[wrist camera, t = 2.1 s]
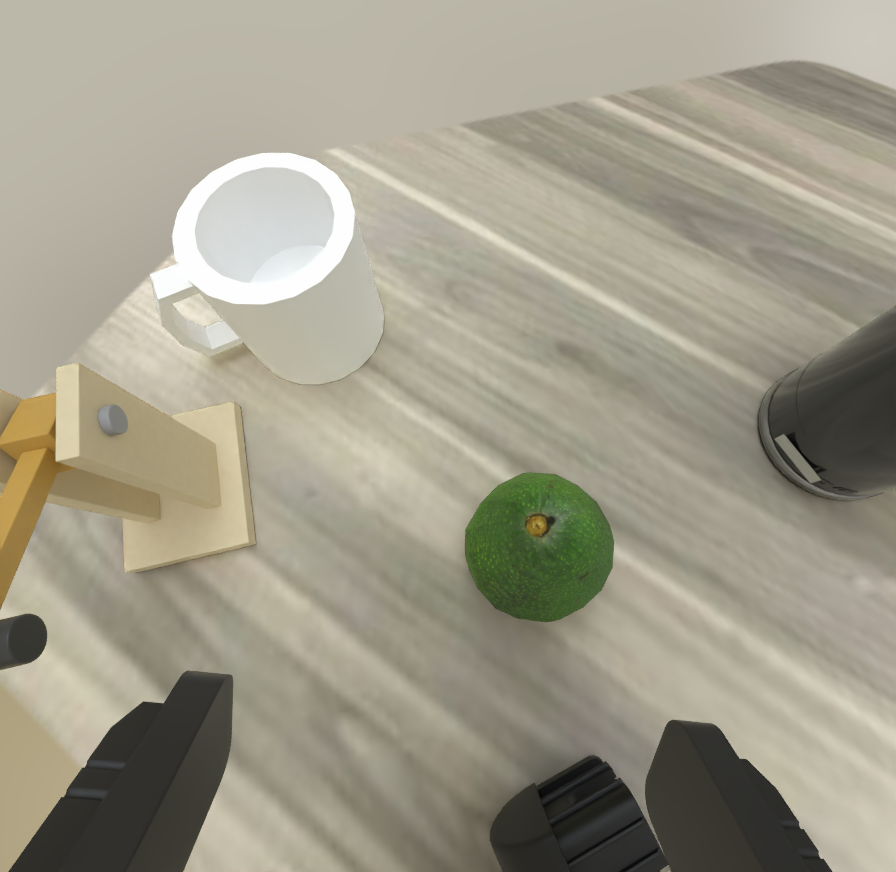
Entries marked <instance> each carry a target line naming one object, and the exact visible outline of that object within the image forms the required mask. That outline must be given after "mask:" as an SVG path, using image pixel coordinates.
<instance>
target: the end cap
mask: <svg viewBox="0 0 896 872" xmlns="http://www.w3.org/2000/svg"><path fill="white" fill-rule="evenodd" d="M614 778H616V775H615V773H614V771H613V770H612V768H611V767H610V766H609V765H608V763H607V762H606V761H605V762H603V761H602V760H601V759H600V758H599V757H597V756H594V755H593V756H589V757H587V758H585V759H583V760H582V761H580V762H578V763H576V764H575V765H573V766H571V767H569V768H568V769H566V770H564V771H562V772H561V773H559V774H557V775H555V776H554V777H552V778H550V779H548V780H547V781H545V782H543V783H542V784H540V785H538V786H537V787H536V786H535V784H534V783H533V784H532V785H530V786H528V787H527V788H525V789H524V790H523V791H521V792H520V793H518V794H517V795H516V796H515V797H514V798H513V799H511V800H510V801H509V802H508V803H507V804H506V805H505V806H504V807H503V809H502V810H501V811H500V813H499V814H498V815H497V817H496V819H495V820H494V822H493V825H492V828H491V831H490V841H491V845H492V848H493V850H494V852H495V855H496V857H497V859H498V862H499V864H500V866H501V869H502V871H503V872H660V871H659V870H661V869H663V868H664V867H666V866H667V865H669V864H668V862H667V860H666V858H665V856H664V854H663V852H662V850H661V848H660V846H659V844H658V842H657V840H656V839H655V837H654V835H653V833H652V831H651V829H650V827H649V825H648V823H647V821H646V819H645V817H644V815H643V813H642V811H641V810H640V808H639V806H638V804H637V802H636V800H635V798H634V797H633V795H632V793H631V792H630V790H629V789H628V787H627V786H626V785H625V784H624V783H623V781H622V780H621V779H620V778H619V779H614Z"/></svg>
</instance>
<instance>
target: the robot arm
mask: <svg viewBox="0 0 896 872" xmlns="http://www.w3.org/2000/svg"><path fill="white" fill-rule="evenodd" d="M759 430H760V436H761V439H762V442H763V445H764V447H765V449H766V451H767V453H768V455H769V457H770V458H771V460H772V461H773V463H774V464H775V465H776V467H777V468H778V469H779V470H780V471H781V472H782V473H783V474H784V475H785V476H786V477H787V478H788V479H790V480H791V481H792V482H793V483H795V484H796V485H798V486H799V487H801V488H803V489H805V490H806V491H809V492H811V493H813V494H815V495H818V496H821V497H825V498H828V499H834V500H858V499H863V498H867V497H872V496H875V495H879V494H881V493H884V492H886V491H890V490H895V489H896V306H894V307H893V308H891V309H890V310H888V311H887V312H885V313H884V314H882V315H881V316H879V317H877V318H876V319H874V320H873V321H871V322H870V323H868V324H867V325H865V326H864V327H862V328H861V329H859V330H858V331H856V332H855V333H853V334H852V335H850V336H848V337H847V338H845V339H844V340H842V341H841V342H839V343H838V344H836V345H835V346H833V347H832V348H830V349H829V350H827V351H826V352H824V353H822V354H821V355H819V356H817V357H816V358H814V359H813V360H811V361H810V362H808V363H807V364H805V365H804V366H802V367H801V368H799V369H796V370H794V371H792V372H790V373H789V374H787V375H786V376H784V377H783V378H781V379H780V380H778V381H777V382H776V383H775V384H774V385H773V386H772V387H771V388H770V389H769V390H768V392H767V393H766V395H765V397H764V399H763V401H762V404H761V407H760V411H759ZM232 704H233V677H232V675H228V674H218V673H208V672H198V671H186V672H185V673H183V675H182V676H181V677H180V678H179V680H178V681H177V683H176V685H175V686H174V688H173V689H172V691H171V693H170V694H169V696H168V697H167V699H166V701H165V702H164V703H153V702H142V703H141V704H140V705H139V706H137V707H136V708H135V709H134V710H132V711H131V712H130V713H129V714H127V715H126V716H125V717H124V718H122V719H121V720H120V721H119V722H117V723H116V724H115V725H114V726H112V727H111V728H110V730H109V731H108V733H107V734H106V735H105V737H104V738H103V740H102V741H101V742H100V744H99V745H98V747H97V748H96V749H95V751H94V752H93V754H92V755H91V756H90V758H89V759H88V761H87V765H86V766H85V768H82V769H81V771H80V772H79V773H78V775H77V776H76V778H75V779H74V780H73V782H72V783H71V785H70V786H69V787H68V789H67V792H66V795H65V796H64V797H61V799H60V800H59V801H58V803H57V804H56V806H55V807H54V808H53V810H52V811H51V813H50V814H49V815H48V817H47V818H46V820H45V821H44V823H43V824H42V825H41V827H40V828H39V830H38V831H37V832H36V834H35V835H34V837H33V838H32V839H31V841H30V842H29V844H28V845H27V846H26V848H25V849H24V851H23V852H22V853H21V855H20V856H19V858H18V859H17V861H16V862H15V863H14V865H13V866H12V868H11V869H10V870H9V872H183V871H184V868H185V866H186V864H187V861H188V859H189V856H190V854H191V852H192V849H193V847H194V844H195V842H196V840H197V837H198V835H199V833H200V830H201V828H202V825H203V823H204V821H205V818H206V816H207V813H208V811H209V809H210V806H211V804H212V801H213V799H214V797H215V794H216V792H217V789H218V787H219V785H220V782H221V780H222V777H223V774H224V771H225V768H226V764H227V761H228V757H229V752H230V746H231V737H232ZM645 796H646V804H647V809H648V813H649V817H650V819H651V822H652V824H653V827H654V829H655V832H656V834H657V837H658V839H659V842H660V844H661V847H662V849H663V852H664V854H665V857H666V859H667V862H668V864H669V867H670V869H671V872H832V871H831V869H830V868H829V866H828V865H827V863H826V862H825V860H824V859H821V858H820V857H819V854H818V852H819V851H818V850H817V848H816V847H815V845H814V844H813V842H812V841H811V839H810V838H809V836H808V835H807V833H806V832H805V830H804V829H801V828H800V827H799V821H798V820H797V819H796V817H795V816H794V814H793V813H792V811H791V810H790V808H789V807H788V805H787V804H786V802H785V801H784V799H783V798H782V796H781V795H780V793H779V792H778V790H777V789H776V788H775V787H774V786H773V785H772V784H771V783H770V782H769V781H768V780H767V779H766V778H765V777H764V776H763V775H762V774H761V773H760V772H759V771H758V770H757V769H756V768H755V767H754V766H753V765H752V764H751V763H750V762H749V761H748V760H747V759H739V757H738V756H737V754H736V753H735V751H734V750H733V748H732V746H731V745H730V743H729V742H728V740H727V739H726V737H725V736H724V734H723V733H722V731H721V730H720V729H719V728H718V727H717V726H716V725H714V724H711V723H701V722H691V721H681V720H671V721H669V722H668V723H667V725H666V727H665V730H664V732H663V735H662V738H661V740H660V743H659V746H658V748H657V751H656V754H655V756H654V759H653V762H652V764H651V767H650V770H649V773H648V775H647V779H646V785H645Z"/></svg>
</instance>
